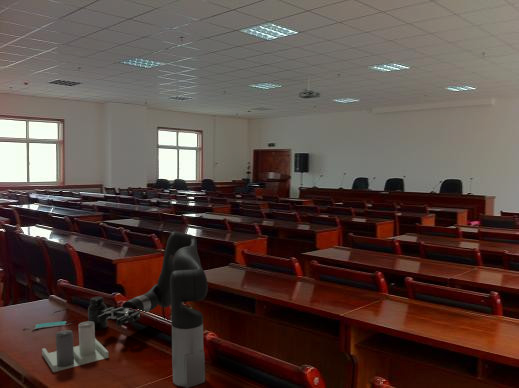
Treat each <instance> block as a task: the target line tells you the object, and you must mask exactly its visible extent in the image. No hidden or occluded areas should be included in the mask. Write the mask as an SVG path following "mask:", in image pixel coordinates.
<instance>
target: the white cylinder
mask: <svg viewBox="0 0 519 388" xmlns="http://www.w3.org/2000/svg"><path fill="white" fill-rule="evenodd" d="M77 326H78V346H79V351H80V355H81V356H89V355H92V354H94V353H95V339H96V335H95V334H96V331H95V327H94V322H92V321H89V320H87V321H82V322H80V323H78V325H77Z"/></svg>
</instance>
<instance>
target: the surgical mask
mask: <svg viewBox="0 0 519 388" xmlns="http://www.w3.org/2000/svg"><path fill="white" fill-rule="evenodd" d="M68 310H70V308H65V309H62V310H57V311H54V312H53V314H55V313H58V312H64V311H68ZM75 322H79V320H78V319H77V320H73V321H69V322H67V321H66V320H63V321H54V322H53V321H52V322H45V323H39V324H37V323H36V324H35V325H34V328H33V329H32V332H35V331H39V330H41V329H46V328H56V327H62V326H66V325H71V324H72V323H75ZM31 327H33V325H31V326H28V327H27V330H30V328H31ZM25 330H26V328H23V329H22V331H25Z"/></svg>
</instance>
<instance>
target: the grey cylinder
mask: <svg viewBox="0 0 519 388" xmlns="http://www.w3.org/2000/svg"><path fill="white" fill-rule="evenodd" d="M73 346H74V331H73V330H71V329H67V330H66V329H64V330H60V331H57V332H56V333H55V348H56V350H55V351H56V353H57V366H58V367H67V366H70V365H72V364H73V363H74V350H73Z"/></svg>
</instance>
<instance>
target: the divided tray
mask: <svg viewBox="0 0 519 388" xmlns="http://www.w3.org/2000/svg"><path fill="white" fill-rule="evenodd" d="M73 350H74V363H73V364H72V365H70V366H67V367H58V366H57V353H56V350H55V351H52V352H48V350H47V349H46V348H45V347H44V348H41V356H42V357H43V359H44V360H45V361H46V363H47V364H48V366H49V368H50V369H51V371H52V373H56V372H60V371H64V370H67V369H71V368H75V367H78V366H82V365H86V364H89V363H93V362H98V361H101V360H105V359H108V358H109V353H110V352H109V350H107V349H106V347H104V346H103V344H102V343H101V342H100V341H98V340H97V338H95V353H94V354H92V355H89V356H81V355H80V351H79V345H76V346H74V345H73Z"/></svg>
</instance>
